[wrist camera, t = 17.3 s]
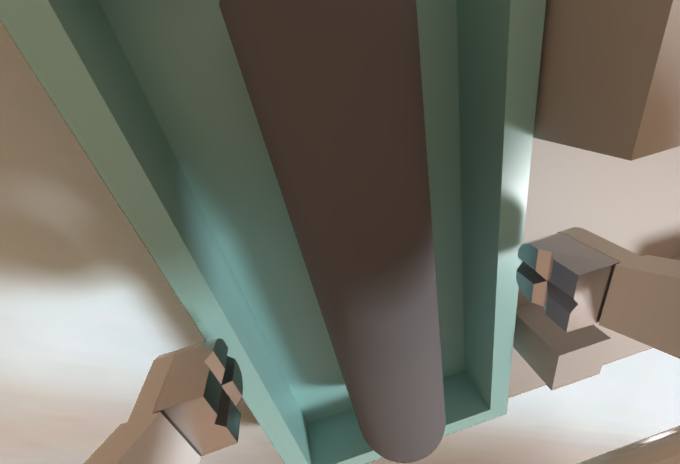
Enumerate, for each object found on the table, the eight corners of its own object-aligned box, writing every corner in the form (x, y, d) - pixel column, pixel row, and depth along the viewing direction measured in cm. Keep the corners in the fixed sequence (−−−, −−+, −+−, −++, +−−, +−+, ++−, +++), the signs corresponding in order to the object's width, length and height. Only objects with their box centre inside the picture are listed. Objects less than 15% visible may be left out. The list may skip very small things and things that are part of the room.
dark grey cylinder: (417, 362, 14) (465, 438, 11) (347, 392, 14) (377, 480, 11) (368, -9, 7) (458, -73, 4) (223, 22, 7) (209, -27, 4)
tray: (472, 365, 16) (506, 413, 14) (295, 425, 15) (299, 486, 13) (471, -161, 7) (573, -282, 4) (31, -70, 6) (-112, -155, 4)
